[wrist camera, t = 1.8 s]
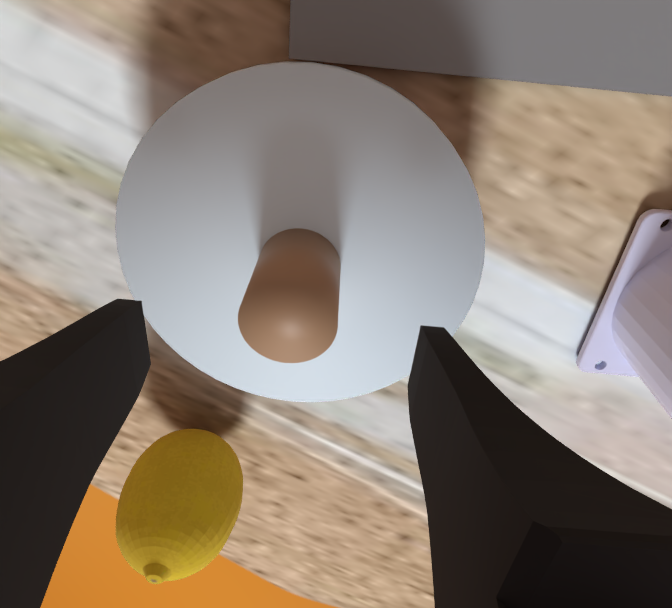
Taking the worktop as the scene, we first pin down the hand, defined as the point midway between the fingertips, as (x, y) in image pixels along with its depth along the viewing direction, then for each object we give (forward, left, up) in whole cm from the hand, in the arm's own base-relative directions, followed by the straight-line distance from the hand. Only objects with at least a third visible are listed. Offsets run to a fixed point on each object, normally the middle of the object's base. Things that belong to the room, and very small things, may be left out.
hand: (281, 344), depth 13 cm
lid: (0, 0, -6) cm, 6 cm away
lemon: (+5, +13, -9) cm, 16 cm away
